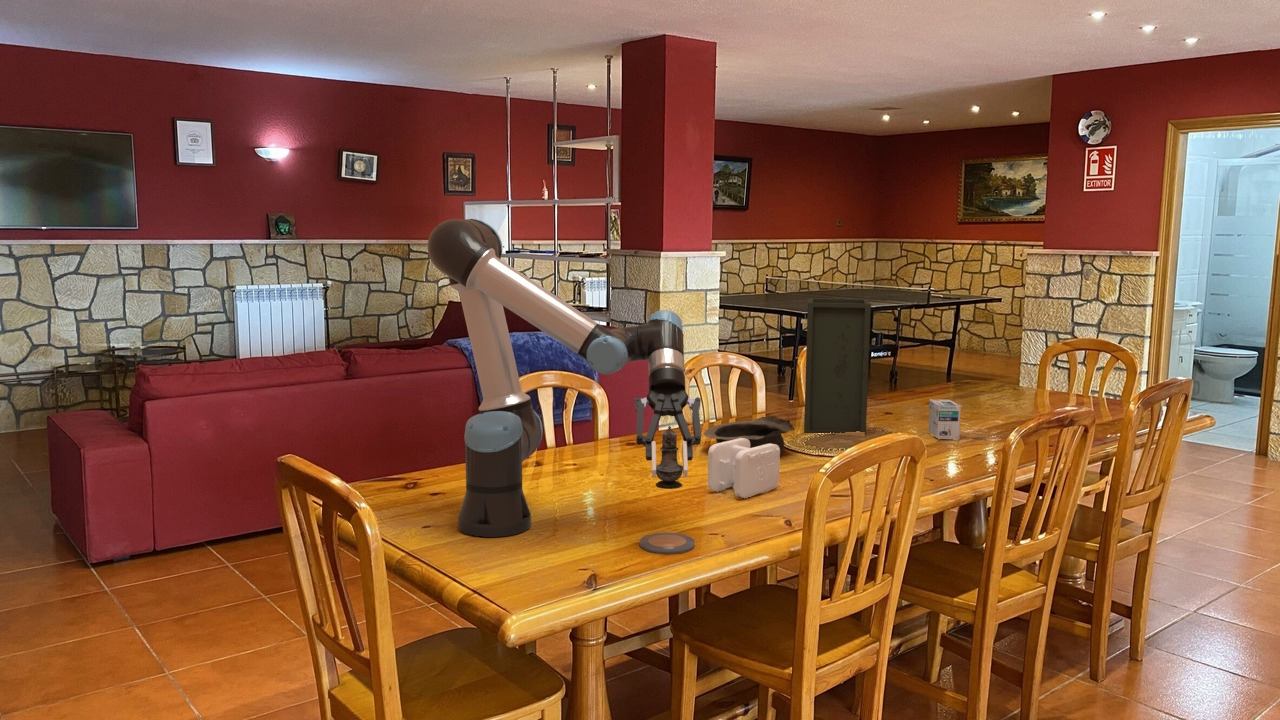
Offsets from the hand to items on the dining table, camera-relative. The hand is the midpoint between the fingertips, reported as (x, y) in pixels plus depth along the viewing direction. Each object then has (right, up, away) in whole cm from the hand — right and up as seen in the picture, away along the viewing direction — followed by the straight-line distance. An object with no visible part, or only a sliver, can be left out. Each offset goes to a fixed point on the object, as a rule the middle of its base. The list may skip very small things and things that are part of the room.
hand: (669, 473), depth 187 cm
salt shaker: (0, -3, +4) cm, 5 cm away
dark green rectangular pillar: (+55, 0, +117) cm, 129 cm away
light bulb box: (+86, -2, +106) cm, 137 cm away
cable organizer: (+19, -10, +45) cm, 50 cm away
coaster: (0, -15, +6) cm, 16 cm away
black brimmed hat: (+24, -4, +85) cm, 88 cm away
